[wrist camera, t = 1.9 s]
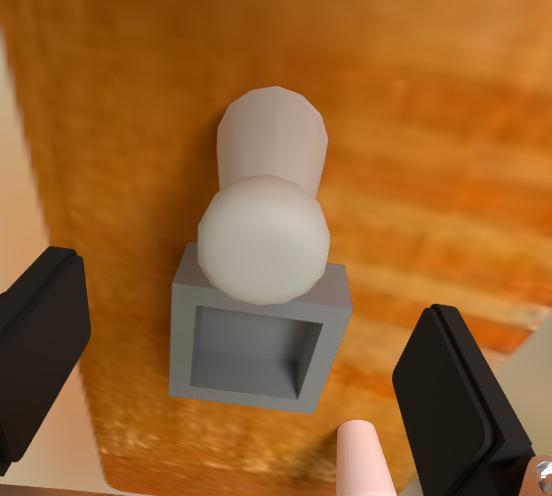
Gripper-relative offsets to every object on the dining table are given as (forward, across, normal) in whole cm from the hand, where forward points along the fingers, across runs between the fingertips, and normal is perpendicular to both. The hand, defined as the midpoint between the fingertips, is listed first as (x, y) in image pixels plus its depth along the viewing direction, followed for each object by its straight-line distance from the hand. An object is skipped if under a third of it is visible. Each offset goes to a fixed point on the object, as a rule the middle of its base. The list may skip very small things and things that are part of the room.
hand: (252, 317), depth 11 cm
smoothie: (+15, -13, +27) cm, 34 cm away
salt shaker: (+15, 0, -1) cm, 15 cm away
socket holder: (+15, -1, +13) cm, 20 cm away
